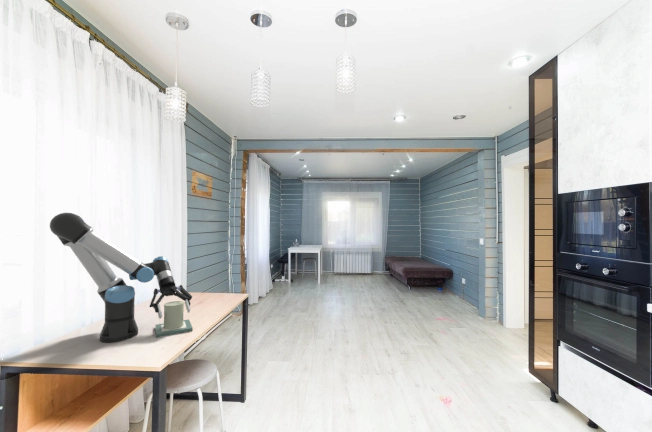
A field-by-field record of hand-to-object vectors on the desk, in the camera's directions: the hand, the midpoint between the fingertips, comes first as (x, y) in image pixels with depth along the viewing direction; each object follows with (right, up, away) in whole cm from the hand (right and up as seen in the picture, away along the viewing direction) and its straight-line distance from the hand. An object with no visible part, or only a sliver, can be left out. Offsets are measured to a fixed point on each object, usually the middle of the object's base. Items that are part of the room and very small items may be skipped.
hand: (175, 314), depth 147 cm
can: (-2, -7, +1) cm, 7 cm away
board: (-2, -8, +1) cm, 8 cm away
